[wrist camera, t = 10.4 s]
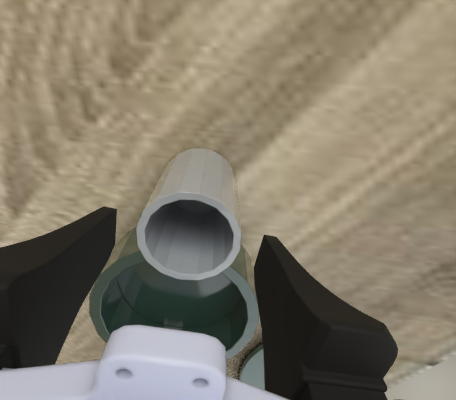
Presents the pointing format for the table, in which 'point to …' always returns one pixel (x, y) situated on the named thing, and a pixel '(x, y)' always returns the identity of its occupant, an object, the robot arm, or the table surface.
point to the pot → (175, 298)
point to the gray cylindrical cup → (192, 217)
